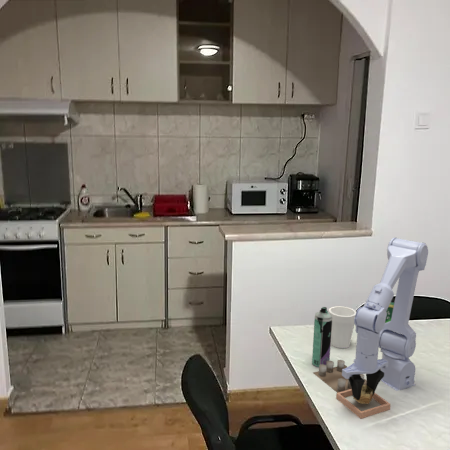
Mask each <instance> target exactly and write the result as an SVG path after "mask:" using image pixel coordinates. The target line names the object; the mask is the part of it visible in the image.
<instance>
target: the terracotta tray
mask: <svg viewBox="0 0 450 450" xmlns="http://www.w3.org/2000/svg"><path fill="white" fill-rule="evenodd" d="M335 393H336V395H335V396H336V397H335V399H336V400H338V401H339V403H341V404H342V405H343V406H345V407H346V408H347V410H348V409H349V411H350V412H352V413H353V414H354V415H355V416H356V417H358V418H359V419H364V418H367V417H370V416H373V415H374V416H375V415H377V414H381V413H383V412H386V411H389V410H391V403H390V402H388V401H387V400H386V399H384V398H383V397H381V396H380V395H379V394H378V393H376V392H375V393H374V395H373V396H372V400H374V401H375V402H377V403H378V404H380V405H378V406H375V407H372V408H368V409H364V410H362V411H361V410H360V409H359V408H358V407H356V405H354V404H353V403H351V402H350V401H349V400H348V399H347V397H351V396H353V394H352V389H349V390H346V391H342V392H339V393H337V392H335Z"/></svg>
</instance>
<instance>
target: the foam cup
mask: <svg viewBox="0 0 450 450" xmlns="http://www.w3.org/2000/svg"><path fill="white" fill-rule="evenodd" d="M327 311H328V313H330V314H331V315H332V331H331V346H332V347H334V348H337V349H347V348H349V347H350V346H351V341H352V336H353V331H354V328H355V324H354V318H355V314H356V312H357V310H355V309H353V308H352V307H348V306H340V305H338V306H335V305H334V306H332V307H329V308H328V310H327Z"/></svg>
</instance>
